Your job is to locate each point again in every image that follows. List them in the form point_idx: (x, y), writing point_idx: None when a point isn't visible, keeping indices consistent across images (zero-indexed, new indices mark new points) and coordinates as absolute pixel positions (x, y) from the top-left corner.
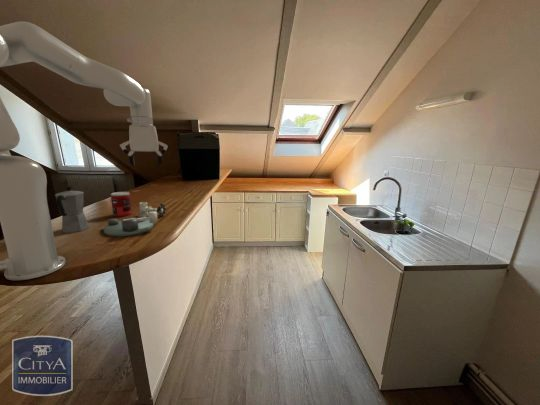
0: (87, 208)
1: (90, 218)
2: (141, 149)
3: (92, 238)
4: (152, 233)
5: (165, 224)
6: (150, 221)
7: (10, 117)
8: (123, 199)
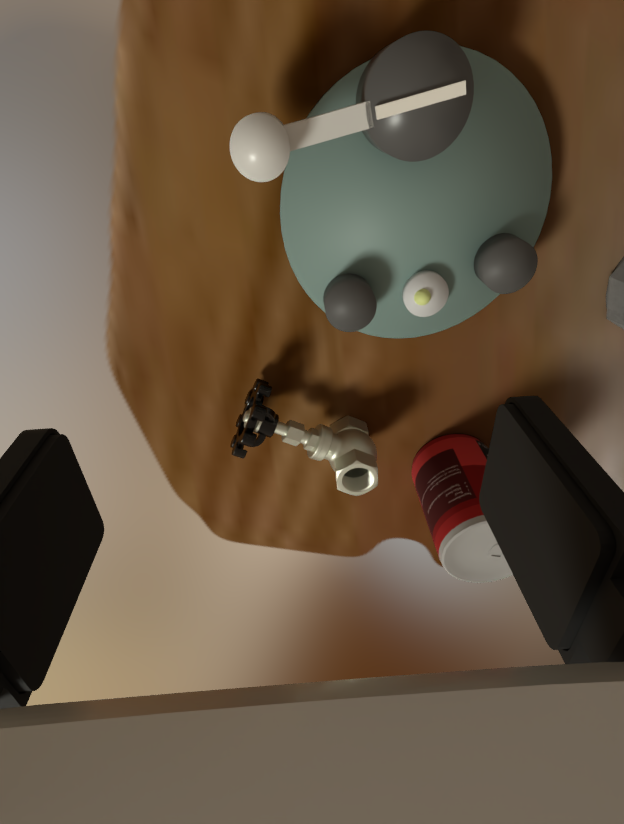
0: None
1: (587, 435)
2: (424, 759)
3: (605, 62)
4: (265, 50)
5: (211, 237)
6: (279, 120)
7: None
8: (467, 500)
